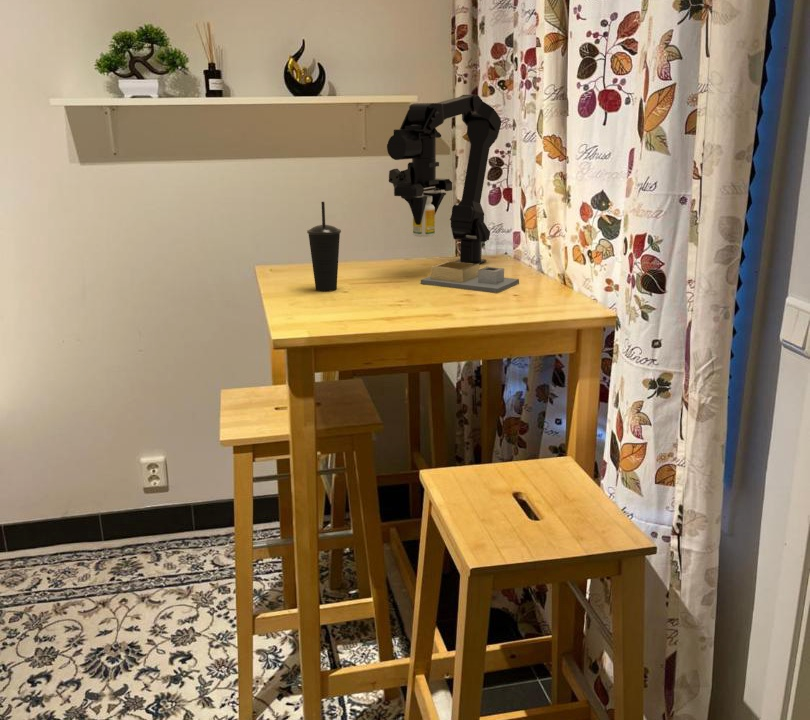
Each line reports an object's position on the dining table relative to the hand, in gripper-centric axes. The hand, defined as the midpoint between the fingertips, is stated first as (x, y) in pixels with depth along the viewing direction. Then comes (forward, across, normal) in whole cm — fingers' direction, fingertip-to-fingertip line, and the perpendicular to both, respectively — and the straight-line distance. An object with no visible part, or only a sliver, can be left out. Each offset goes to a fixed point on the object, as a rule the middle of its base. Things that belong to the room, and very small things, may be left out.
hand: (423, 223), depth 194 cm
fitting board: (+13, +4, +15) cm, 20 cm away
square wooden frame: (+13, +4, +11) cm, 17 cm away
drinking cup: (+13, +26, -11) cm, 31 cm away
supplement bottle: (+3, 0, 0) cm, 3 cm away
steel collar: (+13, +4, +20) cm, 24 cm away
